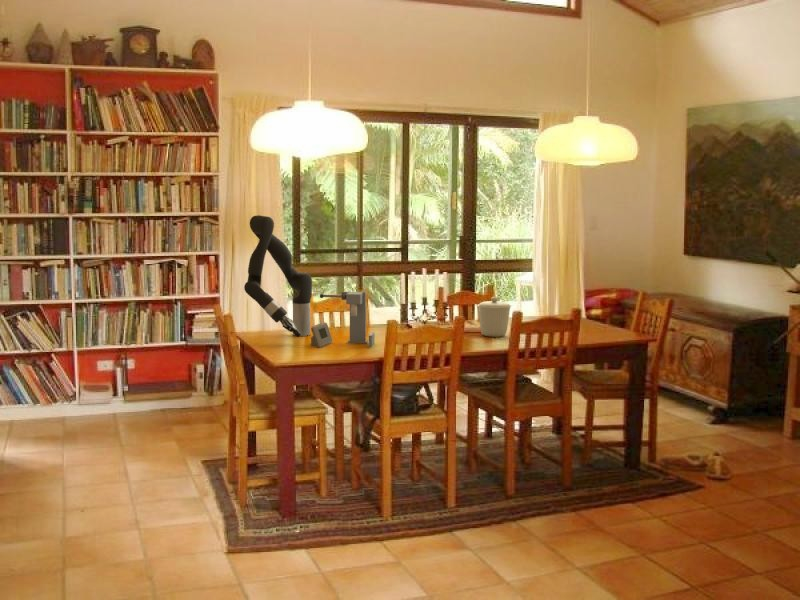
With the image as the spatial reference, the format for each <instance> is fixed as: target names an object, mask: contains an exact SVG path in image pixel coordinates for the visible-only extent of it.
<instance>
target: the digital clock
mask: <svg viewBox="0 0 800 600" xmlns="http://www.w3.org/2000/svg"><path fill="white" fill-rule="evenodd" d="M310 331H311V332H312V335H313V336H311V337H310V347H316V346H317V348H323V346H324V347H326V346H328V345H330V344H332V343H333V341H334V340H333V338H332V334H331V330H330V328H329V326H328V323H327V322H325V321H324V322H321V323H318V324H314V325H313V326H311V327H310Z"/></svg>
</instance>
